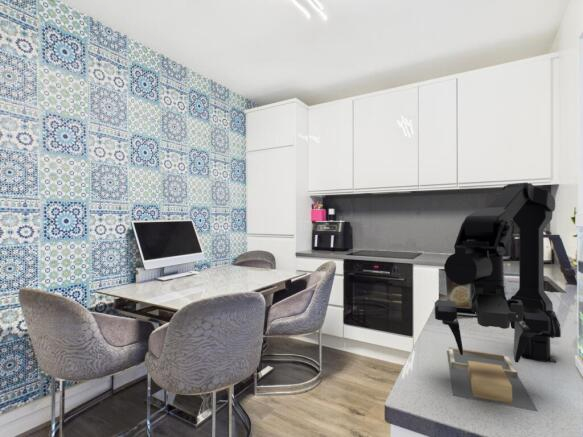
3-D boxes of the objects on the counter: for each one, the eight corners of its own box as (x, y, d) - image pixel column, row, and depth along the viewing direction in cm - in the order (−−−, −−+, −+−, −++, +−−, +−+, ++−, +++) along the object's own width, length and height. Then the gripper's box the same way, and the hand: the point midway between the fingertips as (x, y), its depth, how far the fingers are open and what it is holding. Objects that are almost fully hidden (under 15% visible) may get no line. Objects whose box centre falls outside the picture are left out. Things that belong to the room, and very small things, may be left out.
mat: (446, 352, 79) (446, 350, 79) (508, 361, 74) (508, 358, 74) (453, 398, 59) (453, 395, 59) (538, 414, 53) (538, 411, 53)
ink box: (530, 307, 117) (529, 276, 117) (534, 311, 113) (533, 278, 113) (502, 305, 121) (502, 275, 121) (505, 309, 116) (505, 277, 116)
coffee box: (447, 318, 106) (446, 271, 106) (438, 313, 112) (437, 268, 112) (474, 318, 106) (473, 270, 106) (463, 312, 112) (462, 268, 113)
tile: (468, 374, 66) (467, 360, 66) (501, 380, 64) (501, 365, 64) (473, 396, 58) (473, 380, 58) (512, 403, 56) (512, 386, 56)
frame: (448, 352, 78) (448, 347, 78) (507, 360, 73) (507, 355, 73) (451, 368, 69) (451, 362, 69) (517, 378, 64) (517, 372, 65)
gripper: (434, 283, 58) (436, 367, 58) (562, 290, 50) (564, 387, 50) (433, 273, 68) (435, 345, 68) (539, 278, 60) (541, 359, 60)
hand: (488, 357), depth 61 cm, fingers open, 9 cm apart
